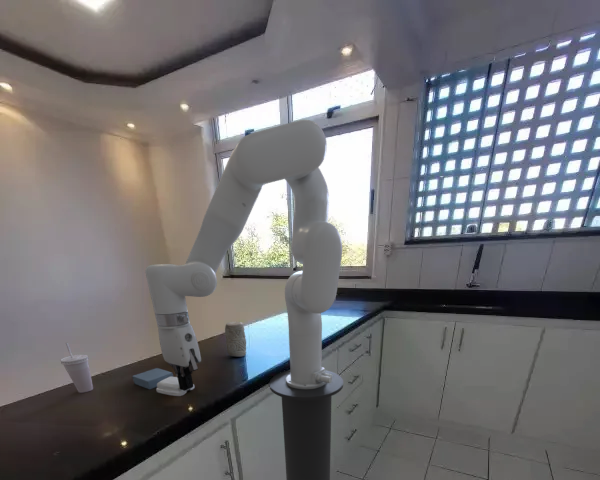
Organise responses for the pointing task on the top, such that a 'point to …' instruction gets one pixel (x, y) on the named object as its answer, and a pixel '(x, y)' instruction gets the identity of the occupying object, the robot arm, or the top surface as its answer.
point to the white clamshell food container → (171, 387)
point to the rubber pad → (151, 377)
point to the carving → (235, 339)
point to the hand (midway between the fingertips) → (186, 388)
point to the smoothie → (78, 370)
